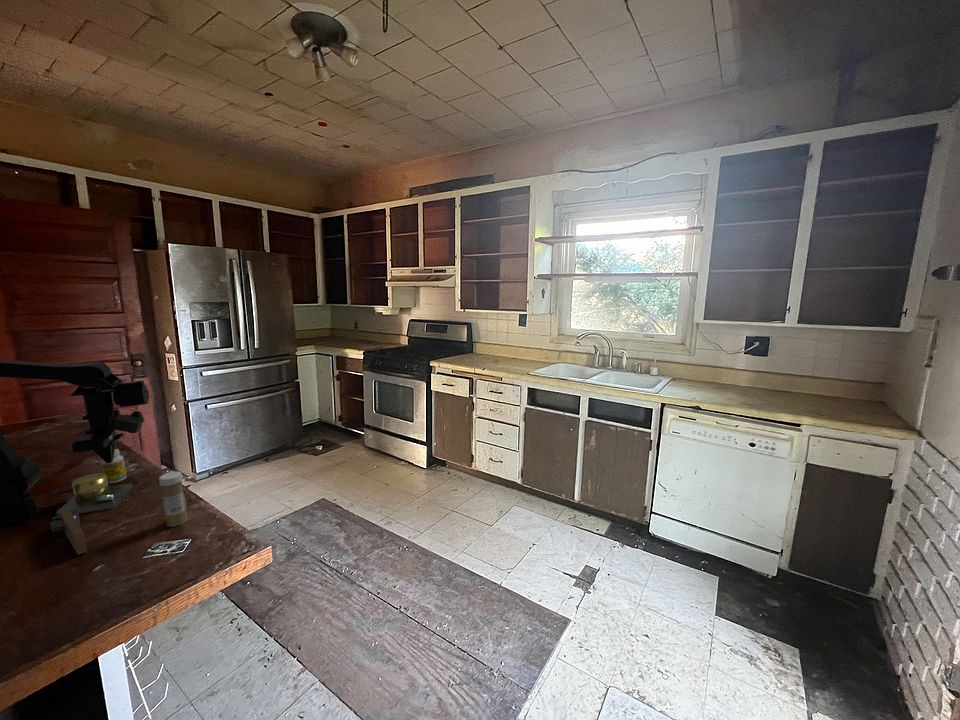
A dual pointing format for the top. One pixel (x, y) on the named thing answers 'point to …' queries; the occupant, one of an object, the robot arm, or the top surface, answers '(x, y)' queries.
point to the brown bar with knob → (70, 529)
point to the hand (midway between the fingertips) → (109, 462)
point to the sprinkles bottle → (173, 498)
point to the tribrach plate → (100, 505)
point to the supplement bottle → (114, 468)
